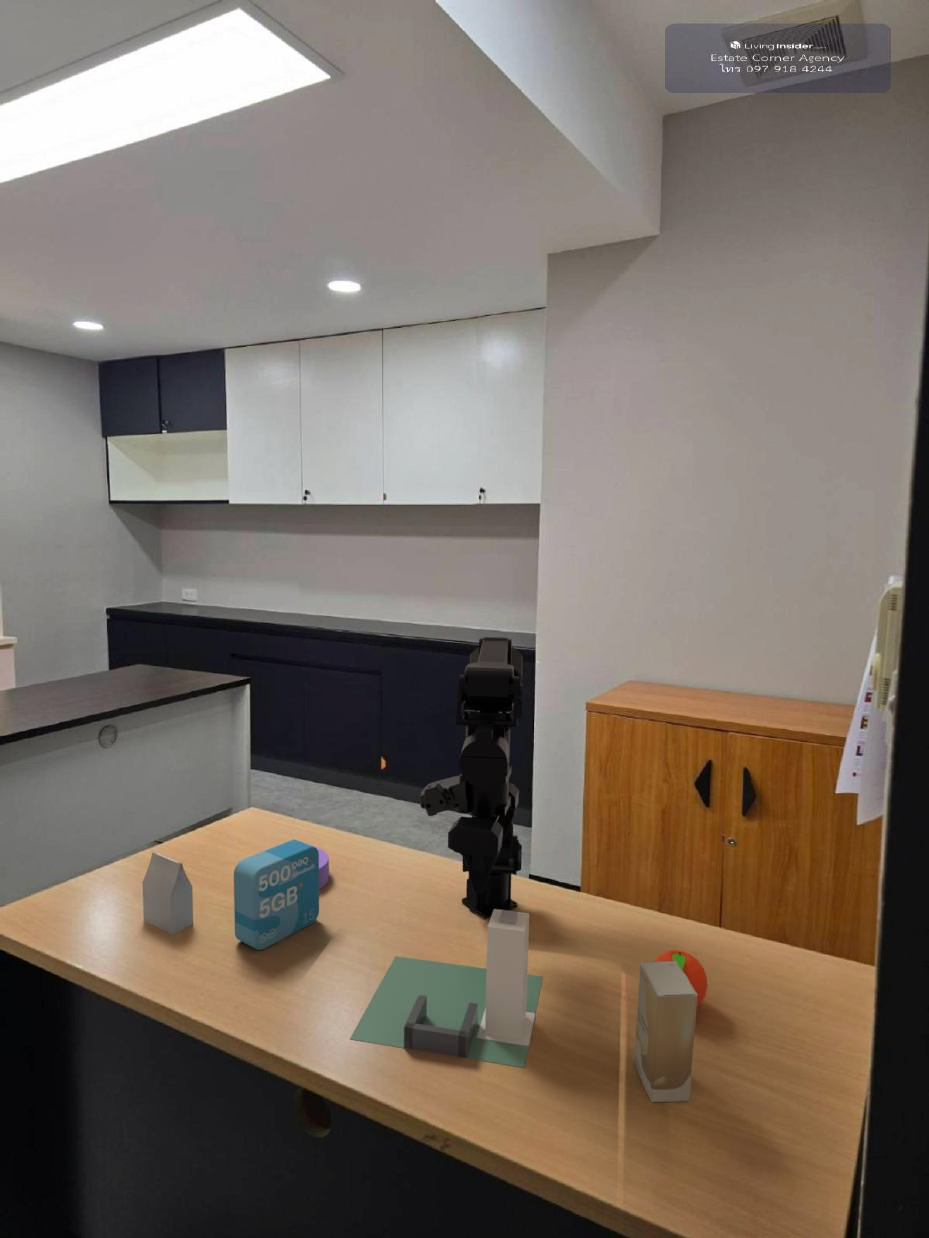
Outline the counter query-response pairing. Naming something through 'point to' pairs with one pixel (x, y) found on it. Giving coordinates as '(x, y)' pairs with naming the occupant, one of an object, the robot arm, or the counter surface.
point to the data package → (276, 893)
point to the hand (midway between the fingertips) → (484, 876)
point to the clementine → (688, 970)
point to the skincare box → (665, 1031)
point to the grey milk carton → (167, 895)
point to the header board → (441, 1013)
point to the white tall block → (507, 973)
